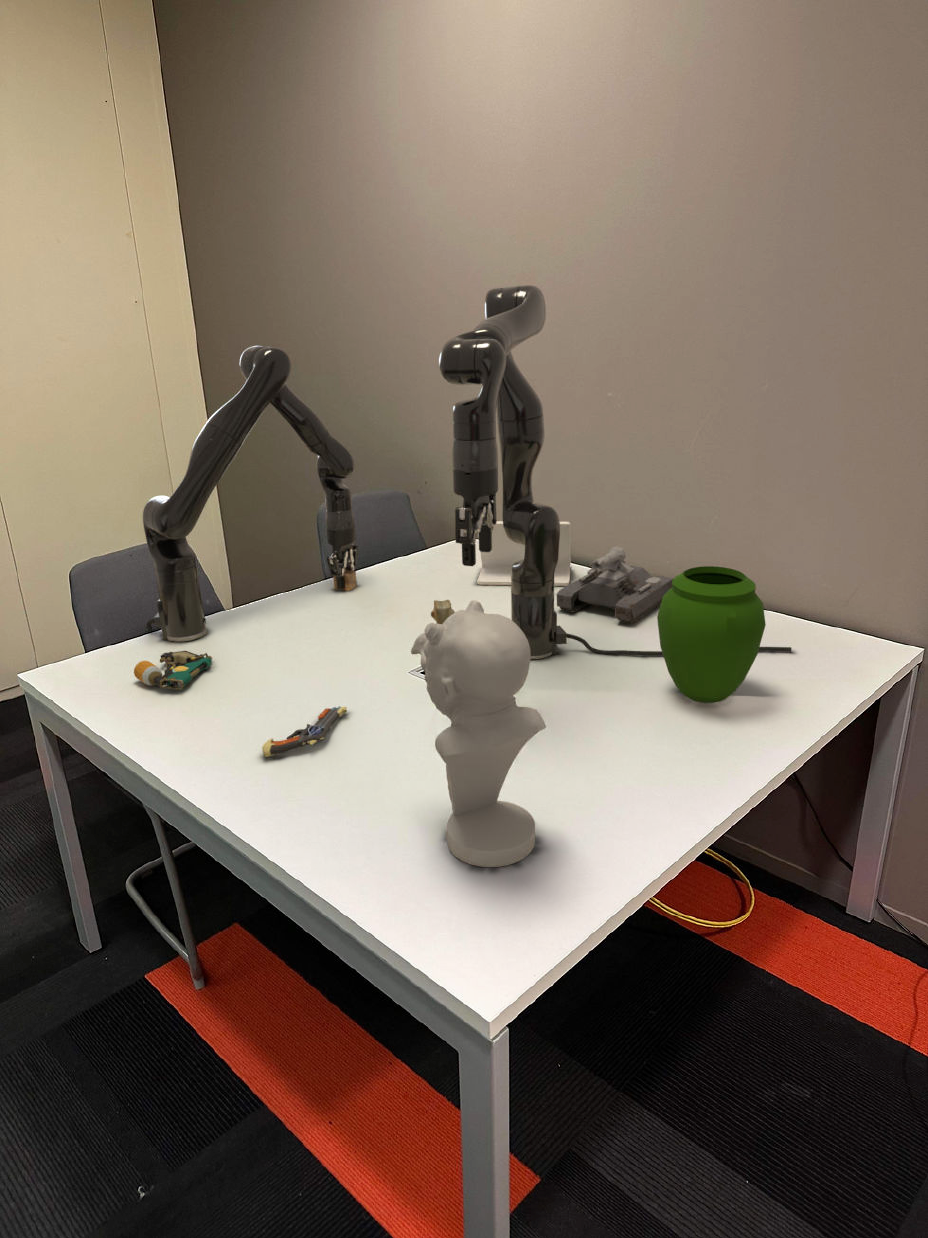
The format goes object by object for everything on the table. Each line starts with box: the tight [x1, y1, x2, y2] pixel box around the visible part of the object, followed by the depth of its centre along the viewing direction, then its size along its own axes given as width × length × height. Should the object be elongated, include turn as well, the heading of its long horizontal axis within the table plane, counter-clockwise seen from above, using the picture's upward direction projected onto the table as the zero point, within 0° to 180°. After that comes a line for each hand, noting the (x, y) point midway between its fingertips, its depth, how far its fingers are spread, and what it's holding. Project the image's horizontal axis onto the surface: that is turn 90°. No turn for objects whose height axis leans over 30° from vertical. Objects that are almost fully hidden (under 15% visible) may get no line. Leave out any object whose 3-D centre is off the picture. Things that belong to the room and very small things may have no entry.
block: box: [332, 569, 358, 592], centre depth 233 cm, size 4×5×4 cm
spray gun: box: [133, 650, 213, 690], centre depth 180 cm, size 4×17×15 cm
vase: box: [656, 565, 767, 704], centre depth 161 cm, size 20×20×24 cm
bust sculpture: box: [410, 599, 547, 868], centre depth 121 cm, size 16×24×35 cm
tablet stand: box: [476, 520, 572, 587], centre depth 236 cm, size 18×25×17 cm
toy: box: [556, 546, 675, 624], centre depth 212 cm, size 25×20×15 cm
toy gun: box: [261, 705, 348, 758], centre depth 154 cm, size 3×19×10 cm
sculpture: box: [430, 599, 456, 624], centre depth 177 cm, size 6×7×15 cm
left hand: (345, 586), depth 233 cm, fingers closed on block, 4 cm apart
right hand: (477, 558), depth 148 cm, fingers open, 8 cm apart
